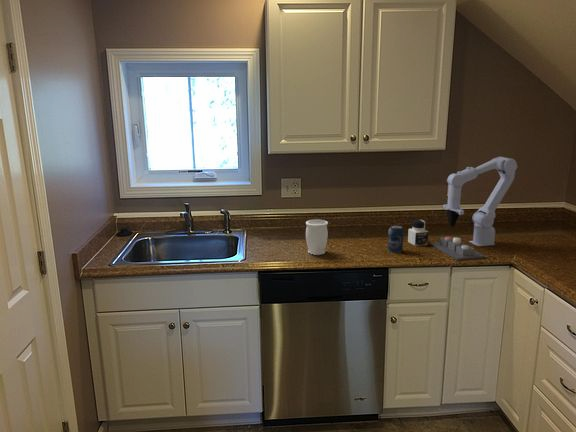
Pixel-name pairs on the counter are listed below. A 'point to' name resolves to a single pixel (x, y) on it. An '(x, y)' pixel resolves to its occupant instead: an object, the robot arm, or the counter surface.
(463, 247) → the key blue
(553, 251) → the counter surface
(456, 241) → the key ivory
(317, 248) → the jar
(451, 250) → the keypad base
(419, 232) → the medicine bottle
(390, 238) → the soda can
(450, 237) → the key red
